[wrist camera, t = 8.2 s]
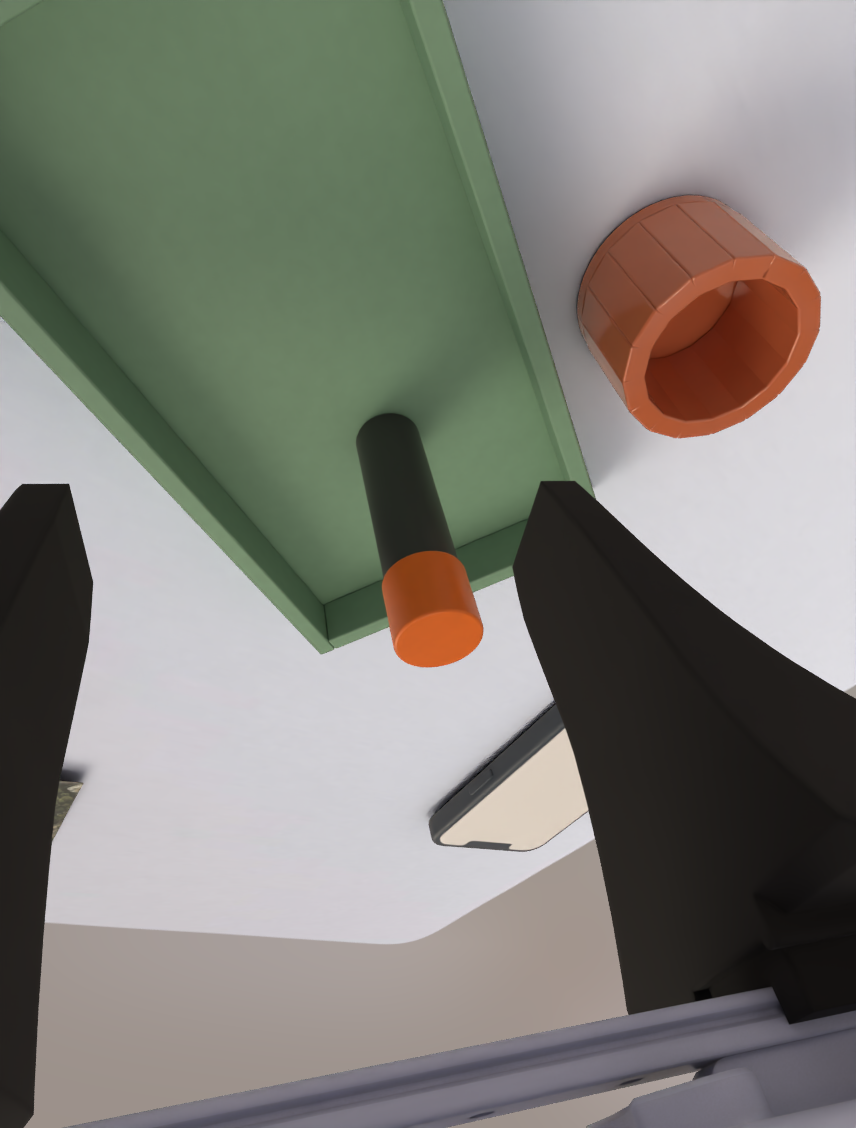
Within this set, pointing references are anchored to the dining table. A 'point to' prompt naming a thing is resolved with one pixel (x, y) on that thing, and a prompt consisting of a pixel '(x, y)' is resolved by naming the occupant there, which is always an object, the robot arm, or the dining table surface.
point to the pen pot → (696, 316)
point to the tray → (278, 274)
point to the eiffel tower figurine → (64, 802)
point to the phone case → (517, 795)
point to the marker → (415, 548)
